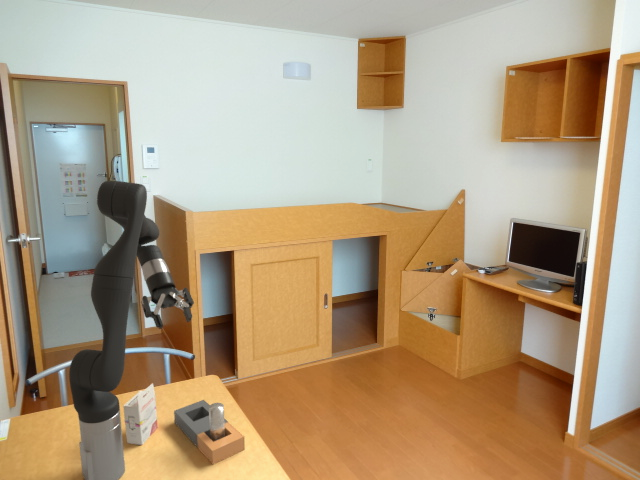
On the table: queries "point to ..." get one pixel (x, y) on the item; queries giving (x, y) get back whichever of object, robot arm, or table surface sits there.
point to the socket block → (208, 432)
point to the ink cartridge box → (140, 416)
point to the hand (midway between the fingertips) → (175, 324)
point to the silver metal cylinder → (216, 421)
